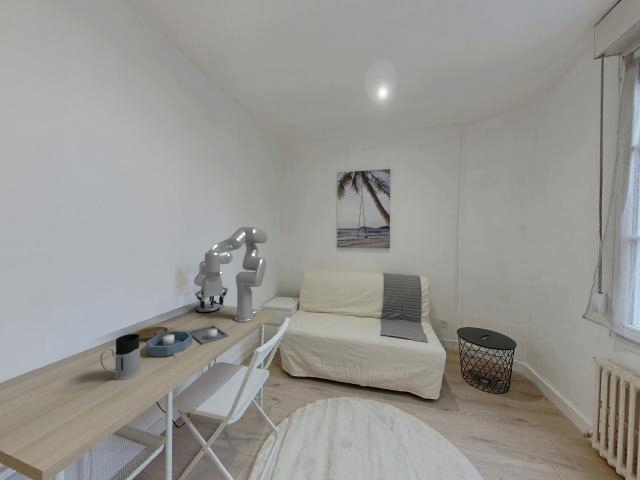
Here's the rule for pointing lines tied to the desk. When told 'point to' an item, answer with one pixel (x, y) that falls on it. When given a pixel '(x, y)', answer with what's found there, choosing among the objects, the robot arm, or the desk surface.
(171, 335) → the pebble
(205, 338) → the tray
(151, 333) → the plant saucer
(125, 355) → the glass holder
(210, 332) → the pebble
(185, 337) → the bowl
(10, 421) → the desk surface
